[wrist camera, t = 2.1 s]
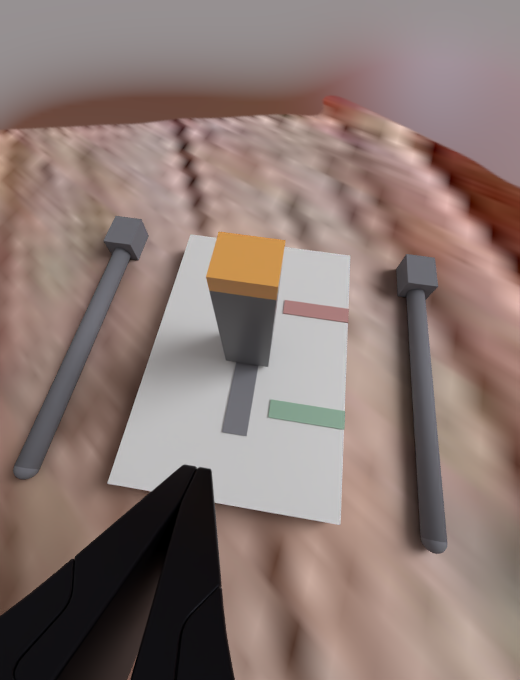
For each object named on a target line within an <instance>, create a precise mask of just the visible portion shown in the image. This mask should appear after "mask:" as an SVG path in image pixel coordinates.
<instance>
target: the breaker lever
mask: <svg viewBox="0 0 520 680" xmlns="http://www.w3.org/2000/svg"><path fill="white" fill-rule="evenodd" d="M284 248H285V240H279V239H271V238H263V237H256V236H248V235H241V234H233V233H225V232H218V236H217V240H216V243H215V247H214V250H213V254H212V257H211V261H210V264H209V268H208V271H207V275H206V279H207V284H208V288H209V292H210V296H211V300H212V305H213V309H214V313H215V317H216V321H217V325H218V330H219V334H220V338H221V342H222V346H223V350H224V355H225V359H226V361H233V362H239V363H246V364H252V365H259V366H265V367H268V365H269V358H270V352H271V345H272V339H273V332H274V324H275V317H276V309H277V301H278V294H279V286H280V278H281V271H282V263H283V255H284Z"/></svg>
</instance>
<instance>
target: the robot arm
mask: <svg viewBox="0 0 520 680" xmlns="http://www.w3.org/2000/svg"><path fill="white" fill-rule="evenodd" d="M138 651H139V652H138ZM137 654H138V655H137ZM136 656H137V659H136V662H135V666H134V669H133V673H132V676H131V680H235V678H234V673H233V668H232V663H231V657H230V651H229V645H228V640H227V633H226V625H225V616H224V607H223V595H222V588H221V573H220V562H219V550H218V538H217V526H216V514H215V502H214V490H213V479H212V470H211V469H209V468H203V467H198V468H197V467H196V466H192V465H186V464H184V465H182V466H181V467H180V468H178V469H177V470H176V471H175V472H174V473H172V474H171V475H170V476H169V477H168V478H167V479H165V480H164V481H163V482H162V483H161V484H160V485H158V486H157V487H156V488H155V489H154V490H152V491H151V492H150V493H149V494H148V495H147V496H145V497H144V498H143V499H142V500H141V501H140V502H138V503H137V504H136V505H135V506H134V507H132V508H131V509H130V510H129V511H128V512H127V513H125V514H124V515H123V516H122V517H121V518H120V519H118V520H117V521H116V522H115V523H114V524H112V525H111V526H110V527H109V528H108V529H107V530H105V531H104V532H103V533H102V534H101V535H100V536H98V537H97V538H96V539H95V540H94V541H92V542H91V543H90V544H89V545H88V546H87V547H85V548H84V549H83V550H82V551H81V552H80V553H78V554H77V555H76V556H75V559H71V560H70V561H69V562H68V563H66V564H65V565H64V566H63V567H62V568H60V569H59V570H58V571H57V572H56V573H55V574H53V575H52V576H51V577H50V578H48V579H47V580H46V581H45V582H44V583H42V584H41V585H40V586H39V587H37V588H36V589H35V590H34V591H32V592H31V593H30V594H29V595H27V596H26V597H25V598H23V599H22V600H21V601H19V602H18V603H17V604H16V605H14V606H13V607H12V608H10V609H9V610H8V611H6V612H5V613H4V614H2V615H1V616H0V680H127V678H128V676H129V673H130V671H131V668H132V666H133V663H134V661H135V658H136Z"/></svg>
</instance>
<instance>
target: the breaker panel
mask: <svg viewBox="0 0 520 680" xmlns="http://www.w3.org/2000/svg"><path fill="white" fill-rule="evenodd" d="M216 240H217V238H213V237H206V236H198V235H190V238H189V241H188V244H187V247H186V250H185V253H184V256H183V259H182V262H181V265H180V268H179V271H178V274H177V277H176V280H175V283H174V286H173V289H172V292H171V295H170V298H169V301H168V304H167V307H166V310H165V313H164V316H163V319H162V322H161V325H160V328H159V330H158V333H157V336H156V339H155V342H154V345H153V348H152V351H151V354H150V357H149V360H148V363H147V366H146V369H145V372H144V375H143V378H142V381H141V384H140V387H139V390H138V393H137V396H136V399H135V402H134V405H133V408H132V411H131V414H130V417H129V420H128V423H127V426H126V429H125V432H124V435H123V438H122V441H121V444H120V447H119V450H118V453H117V456H116V459H115V462H114V465H113V468H112V471H111V474H110V477H109V480H108V483H107V484H112V485H118V486H124V487H129V488H135V489H141V490H146V491H152V490H154V489H155V488H156V487H157V486H158V485H160V484H161V483H162V482H163V481H164V480H165V479H167V478H168V477H169V476H170V475H171V474H172V473H174V472H175V471H176V470H177V469H178V468H180V467H181V466H182V465H184V464H186V465H192V466H196V467H197V468H198V467H203V468H209V469H211V470H212V479H213V490H214V502H215V503H219V504H225V505H231V506H236V507H242V508H248V509H253V510H259V511H264V512H270V513H276V514H281V515H287V516H293V517H298V518H304V519H309V520H315V521H321V522H326V523H332V524H338V525H340V522H341V495H342V467H343V440H344V424H345V386H346V359H347V332H348V314H349V309H348V305H349V278H350V256H348V255H341V254H333V253H326V252H318V251H311V250H303V249H296V248H288V247H285V248H284V255H283V263H282V271H281V278H280V286H279V294H278V301H277V309H276V317H275V324H274V332H273V339H272V345H271V352H270V358H269V365H268V367H265V366H259V365H252V364H246V363H239V362H233V361H226V359H225V355H224V350H223V346H222V342H221V338H220V334H219V330H218V325H217V321H216V317H215V313H214V309H213V305H212V300H211V296H210V292H209V288H208V284H207V279H206V275H207V271H208V268H209V264H210V261H211V257H212V254H213V250H214V247H215V243H216Z"/></svg>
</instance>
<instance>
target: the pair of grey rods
mask: <svg viewBox="0 0 520 680" xmlns="http://www.w3.org/2000/svg"><path fill="white" fill-rule="evenodd" d="M148 236H149V235H148V233H147V231H146V229H145V226H144V224H143V222H142V219H136V218H128V217H120V216H115V219H114V221H113V223H112V225H111V227H110V229H109V231H108V233H107V235H106V237H105V239H104V243H105V244H106V246H107V247H108V249H109V251H110V252H111V254H112V256H111V259H110V261H109V263H108V265H107V267H106V269H105V271H104V274H103V276H102V278H101V280H100V282H99V284H98V287H97V289H96V291H95V293H94V295H93V297H92V299H91V302H90V304H89V306H88V308H87V310H86V312H85V315H84V317H83V319H82V321H81V323H80V325H79V328H78V330H77V332H76V334H75V336H74V338H73V340H72V343H71V345H70V347H69V349H68V351H67V353H66V356H65V358H64V360H63V362H62V364H61V366H60V369H59V371H58V373H57V375H56V377H55V379H54V381H53V384H52V386H51V388H50V390H49V392H48V394H47V397H46V399H45V401H44V403H43V405H42V407H41V409H40V412H39V414H38V416H37V418H36V420H35V422H34V425H33V427H32V429H31V431H30V433H29V435H28V438H27V440H26V442H25V444H24V446H23V448H22V450H21V453H20V455H19V457H18V459H17V461H16V463H15V466H14V469H13V472H14V475H15V476H16V477H17V478H19V479H29V478H31V477H33V476H35V475H36V474H37V473H38V471H39V469H40V467H41V465H42V462H43V460H44V458H45V455H46V453H47V451H48V448H49V446H50V444H51V441H52V439H53V437H54V434H55V432H56V430H57V427H58V425H59V423H60V421H61V418H62V416H63V414H64V411H65V409H66V407H67V404H68V402H69V400H70V397H71V395H72V393H73V390H74V388H75V386H76V383H77V381H78V379H79V376H80V374H81V372H82V369H83V367H84V365H85V362H86V360H87V358H88V355H89V353H90V351H91V348H92V346H93V344H94V341H95V339H96V337H97V334H98V332H99V330H100V327H101V325H102V323H103V320H104V318H105V316H106V313H107V311H108V309H109V306H110V304H111V302H112V299H113V297H114V295H115V292H116V290H117V288H118V285H119V283H120V281H121V278H122V276H123V274H124V271H125V269H126V267H127V264H128V262H129V260H130V259H134V260H139V258H140V255H141V253H142V250H143V248H144V245H145V243H146V241H147V238H148ZM437 287H438V282H437V273H436V265H435V258H432V257H424V256H417V255H409V254H406V256H405V257H404V259H403V260H402V261H401V263H400V264H399V266H398V267H397V292H398V296H401V297H406V298H407V314H408V331H409V348H410V365H411V382H412V399H413V416H414V433H415V449H416V466H417V483H418V500H419V517H420V534H421V541H422V543H423V545H424V546H425V548H426V549H427V550H429V551H430V552H432V553H436V554H440V553H442V552H444V551H445V550H446V548H447V534H446V523H445V512H444V501H443V490H442V479H441V468H440V457H439V446H438V435H437V424H436V413H435V401H434V390H433V379H432V368H431V357H430V346H429V335H428V324H427V313H426V302H425V300H426V299H427V298H428V297H429V295H430V294H431V293H432V292H433V291H434V290H435V289H436V288H437Z"/></svg>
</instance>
